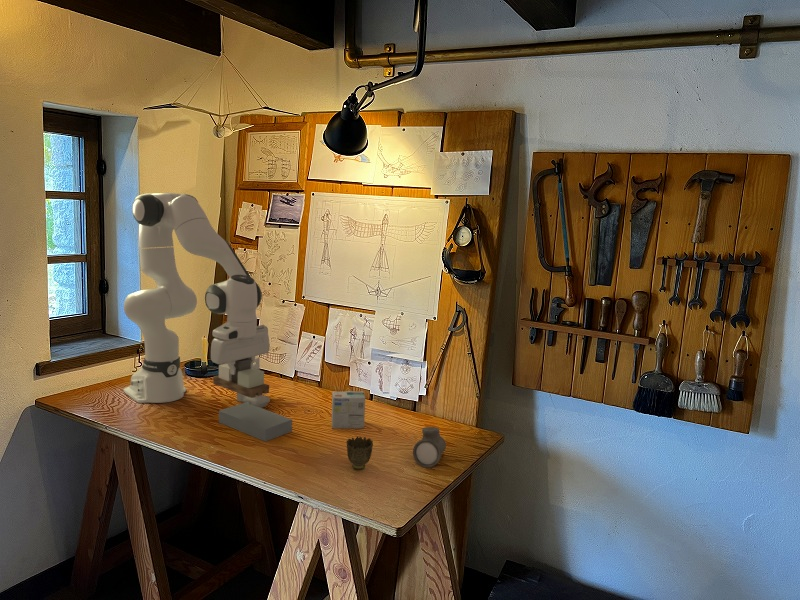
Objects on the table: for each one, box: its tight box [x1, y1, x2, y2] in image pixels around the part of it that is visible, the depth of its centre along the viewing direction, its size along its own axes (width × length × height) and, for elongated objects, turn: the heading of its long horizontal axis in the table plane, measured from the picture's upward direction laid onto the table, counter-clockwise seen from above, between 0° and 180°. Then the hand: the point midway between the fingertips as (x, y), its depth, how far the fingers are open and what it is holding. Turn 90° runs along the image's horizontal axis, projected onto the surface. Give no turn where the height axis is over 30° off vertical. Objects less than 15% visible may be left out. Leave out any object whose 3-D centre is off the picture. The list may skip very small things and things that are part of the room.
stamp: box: [242, 394, 271, 408], centre depth 216 cm, size 9×7×8 cm
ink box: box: [236, 356, 261, 403], centre depth 223 cm, size 9×5×15 cm, turn 168°
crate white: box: [218, 363, 232, 381], centre depth 195 cm, size 5×6×4 cm
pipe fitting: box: [412, 426, 447, 469], centre depth 183 cm, size 12×8×10 cm
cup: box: [346, 436, 374, 471], centre depth 174 cm, size 8×7×8 cm
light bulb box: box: [331, 390, 366, 430], centre depth 205 cm, size 11×7×11 cm, turn 100°
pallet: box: [212, 358, 270, 398], centre depth 193 cm, size 18×7×9 cm, turn 54°
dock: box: [218, 402, 293, 442], centre depth 199 cm, size 22×11×4 cm, turn 55°
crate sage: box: [238, 368, 265, 388], centre depth 190 cm, size 5×6×4 cm
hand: (241, 372), depth 192 cm, fingers closed on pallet, 4 cm apart
